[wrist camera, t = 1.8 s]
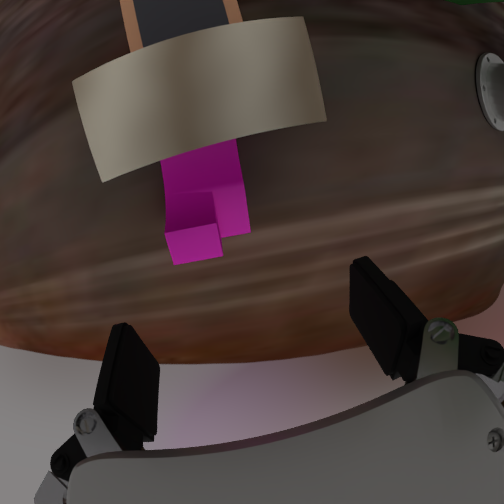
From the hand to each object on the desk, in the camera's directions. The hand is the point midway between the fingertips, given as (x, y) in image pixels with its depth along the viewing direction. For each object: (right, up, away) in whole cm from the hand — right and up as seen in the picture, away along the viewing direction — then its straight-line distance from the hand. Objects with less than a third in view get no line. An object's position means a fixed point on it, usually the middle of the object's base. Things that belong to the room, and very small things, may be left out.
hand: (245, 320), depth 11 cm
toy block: (-5, +12, +12) cm, 18 cm away
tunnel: (-4, +16, +10) cm, 19 cm away
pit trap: (-6, +25, +4) cm, 26 cm away
